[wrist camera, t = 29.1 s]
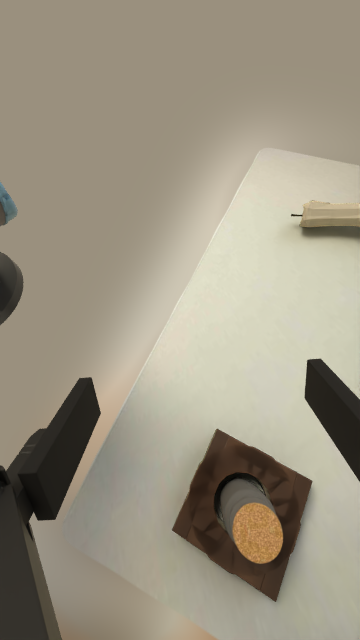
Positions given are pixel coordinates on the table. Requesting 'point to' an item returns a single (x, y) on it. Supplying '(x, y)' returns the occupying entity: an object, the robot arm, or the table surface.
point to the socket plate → (210, 531)
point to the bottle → (251, 521)
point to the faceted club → (330, 214)
